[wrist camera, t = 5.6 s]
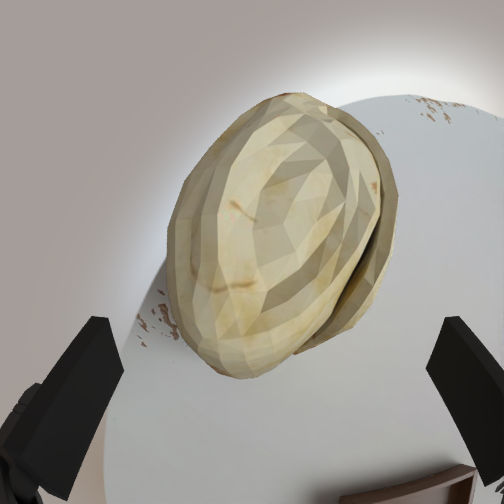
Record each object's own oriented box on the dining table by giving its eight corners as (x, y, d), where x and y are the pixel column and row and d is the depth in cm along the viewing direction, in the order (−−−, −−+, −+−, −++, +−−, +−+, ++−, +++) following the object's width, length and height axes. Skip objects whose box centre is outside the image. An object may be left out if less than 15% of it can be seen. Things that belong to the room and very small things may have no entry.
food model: (251, 259, 27) (243, 46, 9) (322, 285, 26) (430, 102, 8) (206, 362, 24) (61, 308, 5) (283, 393, 23) (376, 443, 4)
